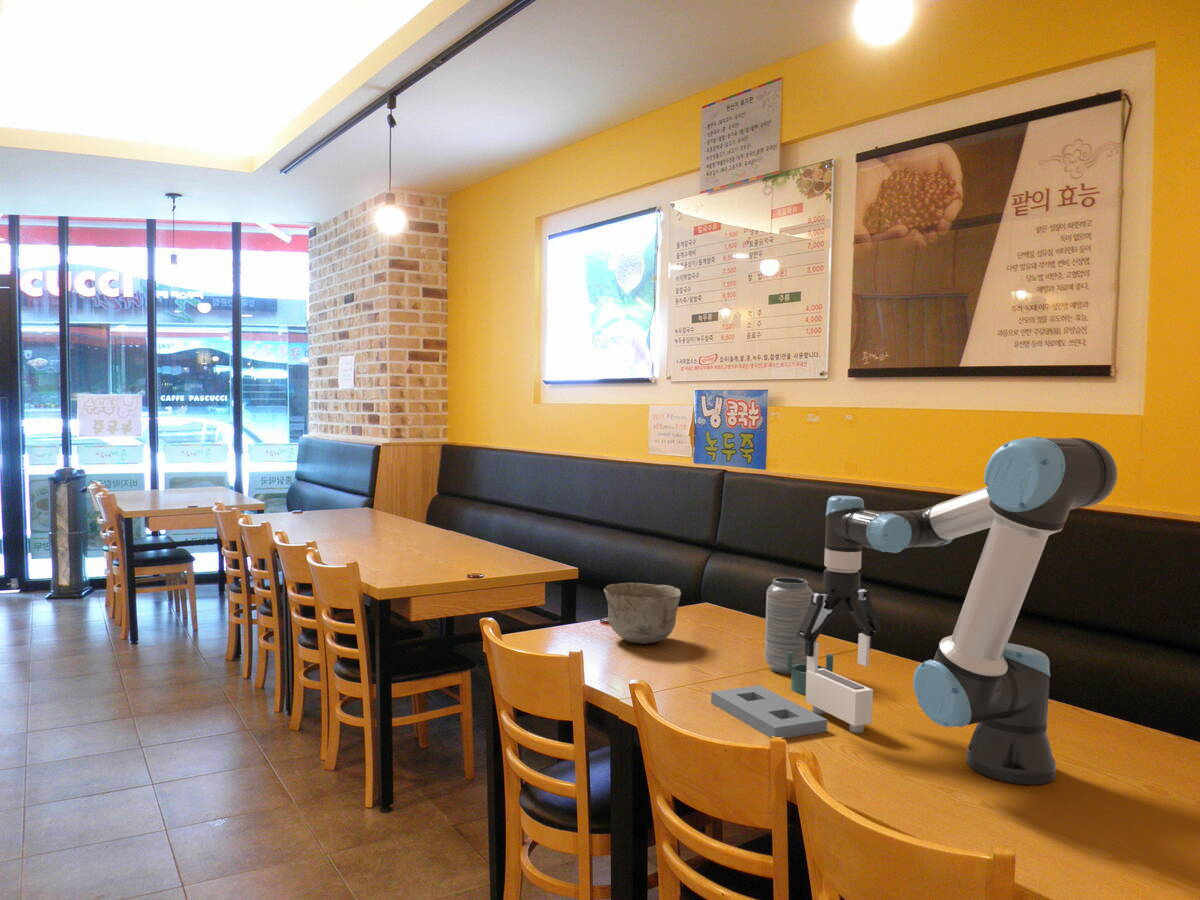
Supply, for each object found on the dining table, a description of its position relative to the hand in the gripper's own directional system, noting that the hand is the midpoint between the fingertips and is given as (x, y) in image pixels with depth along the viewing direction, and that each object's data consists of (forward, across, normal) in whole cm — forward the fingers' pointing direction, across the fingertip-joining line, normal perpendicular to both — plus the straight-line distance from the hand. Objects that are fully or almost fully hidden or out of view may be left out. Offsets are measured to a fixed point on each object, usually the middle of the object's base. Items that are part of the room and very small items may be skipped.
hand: (837, 667), depth 187 cm
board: (+12, +12, -7) cm, 19 cm away
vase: (+12, -13, -34) cm, 39 cm away
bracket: (+12, -8, -19) cm, 24 cm away
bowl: (+13, +10, -71) cm, 73 cm away
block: (+11, 0, +1) cm, 11 cm away
